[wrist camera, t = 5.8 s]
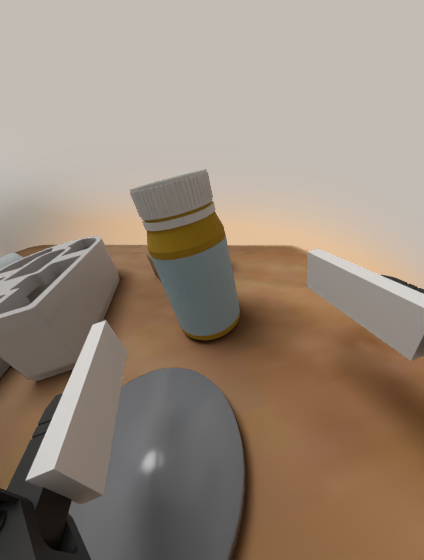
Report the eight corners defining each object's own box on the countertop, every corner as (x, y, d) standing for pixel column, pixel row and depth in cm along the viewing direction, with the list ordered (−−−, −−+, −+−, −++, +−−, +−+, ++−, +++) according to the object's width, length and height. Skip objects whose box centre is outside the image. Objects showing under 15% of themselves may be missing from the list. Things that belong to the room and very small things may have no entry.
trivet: (-26, 768, 6) (-59, 784, 6) (85, 406, 17) (77, 399, 16) (293, 589, 8) (292, 589, 7) (214, 356, 18) (211, 348, 18)
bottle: (246, 302, 24) (223, 164, 16) (232, 348, 18) (187, 175, 11) (196, 299, 27) (157, 181, 19) (171, 339, 21) (102, 196, 14)
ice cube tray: (-78, 425, 19) (-187, 375, 15) (55, 287, 43) (29, 252, 39) (89, 369, 21) (33, 307, 16) (128, 265, 45) (110, 229, 40)
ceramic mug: (-7, 294, 48) (-33, 267, 44) (28, 276, 55) (8, 252, 51) (12, 297, 44) (-15, 268, 40) (49, 278, 50) (28, 251, 46)
